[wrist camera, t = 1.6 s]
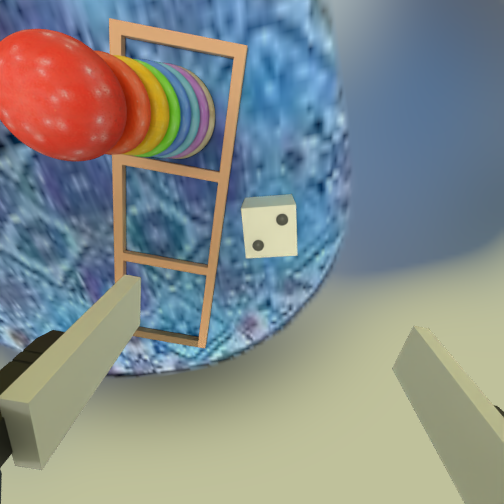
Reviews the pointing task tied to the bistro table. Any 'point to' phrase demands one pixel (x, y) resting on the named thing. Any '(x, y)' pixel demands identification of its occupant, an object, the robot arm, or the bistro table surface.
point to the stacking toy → (99, 101)
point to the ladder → (177, 170)
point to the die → (269, 226)
